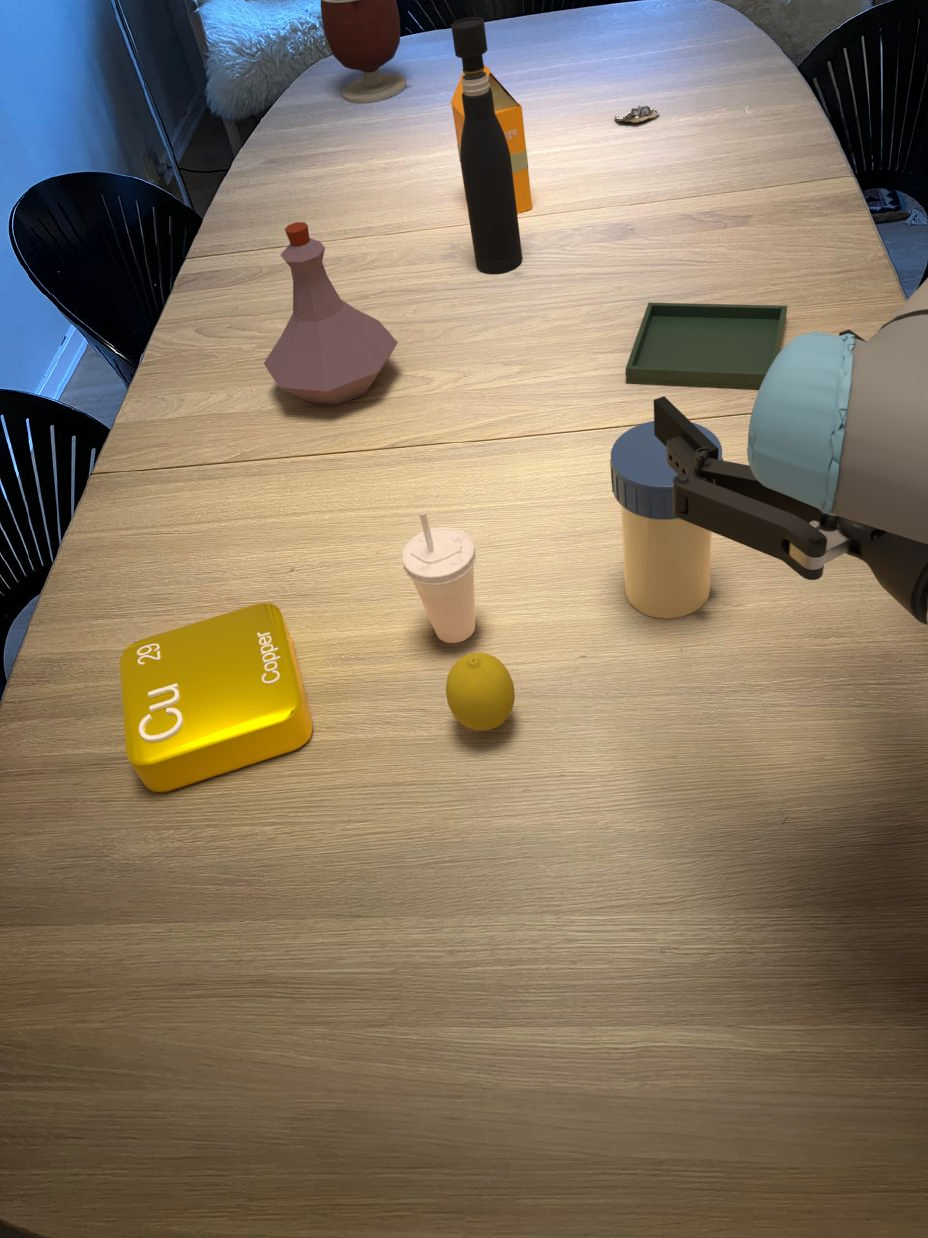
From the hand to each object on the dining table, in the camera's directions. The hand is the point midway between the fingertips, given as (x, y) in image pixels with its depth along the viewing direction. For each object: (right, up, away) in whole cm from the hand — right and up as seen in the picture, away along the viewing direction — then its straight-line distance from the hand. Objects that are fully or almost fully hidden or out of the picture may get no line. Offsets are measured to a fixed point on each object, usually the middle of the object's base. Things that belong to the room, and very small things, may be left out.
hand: (751, 381), depth 67 cm
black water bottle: (-14, +33, +74) cm, 83 cm away
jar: (0, -13, +27) cm, 30 cm away
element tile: (-40, -24, +25) cm, 53 cm away
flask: (-34, +13, +59) cm, 70 cm away
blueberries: (+10, +67, +102) cm, 122 cm away
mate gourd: (-36, +84, +128) cm, 157 cm away
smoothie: (-20, -16, +28) cm, 38 cm away
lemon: (-17, -24, +19) cm, 35 cm away
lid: (-2, -4, +18) cm, 19 cm away
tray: (+9, +15, +52) cm, 55 cm away
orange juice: (-14, +46, +87) cm, 99 cm away
